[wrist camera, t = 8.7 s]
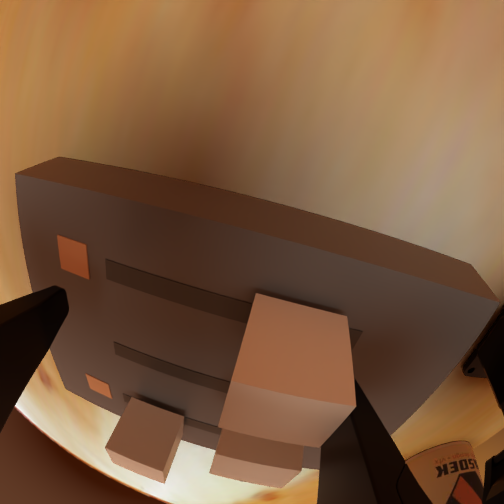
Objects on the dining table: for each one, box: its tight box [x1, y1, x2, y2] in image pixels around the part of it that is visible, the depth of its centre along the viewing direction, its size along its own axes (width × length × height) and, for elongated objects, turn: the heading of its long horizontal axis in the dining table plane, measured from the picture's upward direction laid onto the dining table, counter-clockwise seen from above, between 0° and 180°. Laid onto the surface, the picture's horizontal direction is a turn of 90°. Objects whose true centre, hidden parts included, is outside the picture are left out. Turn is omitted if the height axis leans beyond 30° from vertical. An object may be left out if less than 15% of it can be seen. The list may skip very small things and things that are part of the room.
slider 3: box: [209, 428, 304, 488], centre depth 10 cm, size 3×2×4 cm
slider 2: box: [218, 293, 356, 448], centre depth 8 cm, size 3×2×4 cm
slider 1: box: [105, 397, 184, 484], centre depth 13 cm, size 3×2×4 cm
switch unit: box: [15, 157, 500, 470], centre depth 14 cm, size 20×15×3 cm
